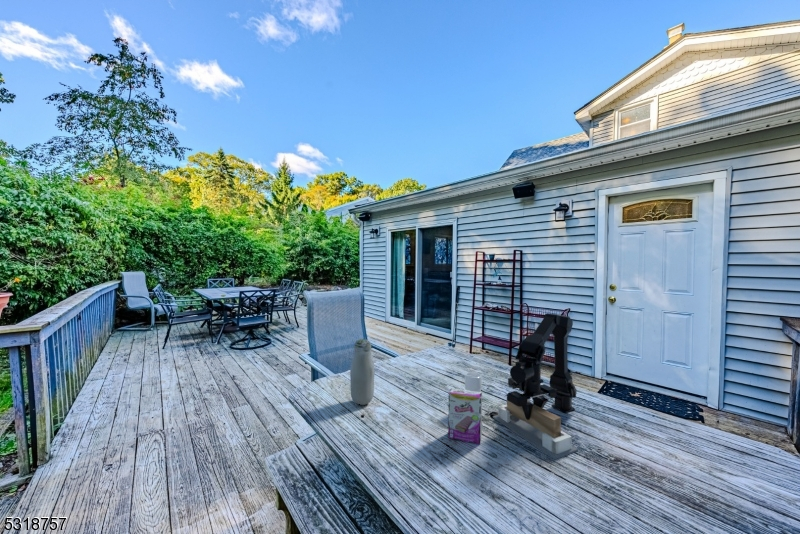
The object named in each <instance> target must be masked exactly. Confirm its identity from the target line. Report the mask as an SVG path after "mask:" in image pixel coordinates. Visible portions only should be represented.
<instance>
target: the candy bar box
mask: <svg viewBox="0 0 800 534" xmlns="http://www.w3.org/2000/svg"><path fill="white" fill-rule="evenodd" d="M482 411H483V392H482V391H481V392H477V391H470V390H465V388H464V389H463V388H455V387H450V389H449V391H448V414H447V415H448V418H447V419H448V420H447V421H448V422H447V424H448V426H447V429H448V430H447V431H448V433H447V437H448V439H450V438H451V439H452V440H455V441H456V440H457V441H461V442H467V443H470V444H471V443H473V444H475V445H476V444H477V445H481V440H482V433H483V432H482V419H483V416H482V415H483V412H482Z"/></svg>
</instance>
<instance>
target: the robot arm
mask: <svg viewBox="0 0 800 534" xmlns="http://www.w3.org/2000/svg"><path fill="white" fill-rule="evenodd" d="M573 325H574V321H573V319H572V318H571V317H570V316H568V315H560V314H556V313H548V312H547V313H545V314H544V315H543V319H542V320H541V321H540V323H539V324H538V326H537V327H536V329H535V331H534V332H533V333H532V334H530V335H527V336H526V337H524V339H523V340H522V341H521V342H520V344H519V347H518V349H517V353H516V355H515V360H518V361H515V363H514V364H515V365H512V367H510V369H509V375H510V377H509V378H508V379H507V385H508V387H509V388H511V389H513V391H510V392H508V393H506V401H507V400H508V401H509V402H511V403H513V404H515V405H516V406H519V407H520V406H522V409H523V411H524V414H525V417H526V419H527V420H529V419H530V416H531V412H532V408H533V404H534V405H536V406H538V407H540V408H542V409H544V408H545V406H546V404H547V403H548V402H549V399H554V400H553V401H554V402H553V403H554V404H551V407H553V408H555V409H557V410H558V411H561V412H562V413H568V412H572V411H575V410H576V408H575V407H574V406H572V405H573V403H572V401H573V398H577V391H578V390H577V388H576V386H575V384H574V383H573V377H572V375H571V373H570V372H569V369H568V368H569V367H568V336H569V335H570V333H571V332H572V329H573ZM551 334H552V336H553V341H554V342H553V344H554V345H553V346H554V351H553V352H554V353H553V354H554V371H553V372H552V374H550V375H549V385H546V384H543V383H544V379H542V378H541V375H542V373H541V371H542V369H541V368H542V367H541V366H542V365H541V364H542V362H543V358H544V355H545V353H546V345H545V344H546V342H547V341H548V339H549V337H550V336H551ZM514 389H518V390H519V391H520V392H519V391H517V390H514ZM521 392H523V393H521ZM547 394H548V397H549V398H547V397H546V395H547ZM531 399H532V402H531Z"/></svg>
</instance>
